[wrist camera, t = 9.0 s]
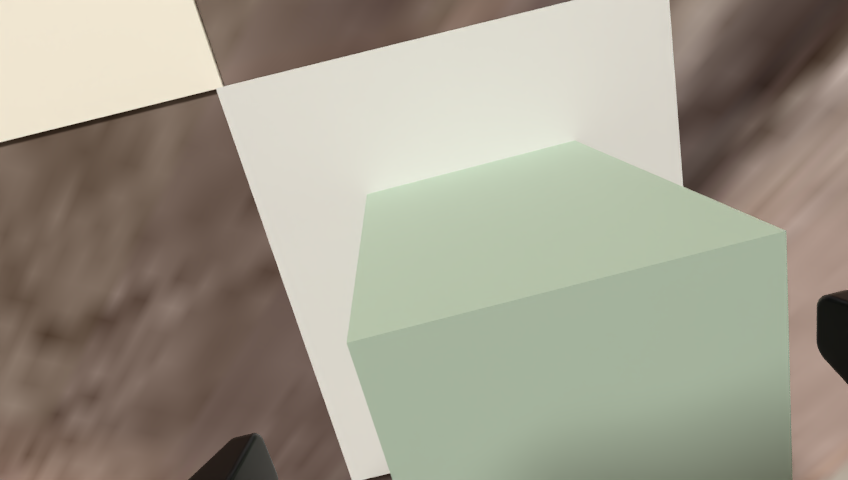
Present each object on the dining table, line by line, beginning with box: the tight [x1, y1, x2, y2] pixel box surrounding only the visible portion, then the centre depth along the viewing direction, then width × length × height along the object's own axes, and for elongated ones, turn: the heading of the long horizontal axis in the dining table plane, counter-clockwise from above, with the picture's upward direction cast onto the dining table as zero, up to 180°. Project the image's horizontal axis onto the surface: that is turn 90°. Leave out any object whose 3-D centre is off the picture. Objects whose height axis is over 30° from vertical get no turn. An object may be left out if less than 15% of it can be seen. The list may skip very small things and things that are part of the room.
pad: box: [216, 0, 683, 480], centre depth 14 cm, size 10×11×1 cm
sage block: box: [347, 140, 792, 480], centre depth 10 cm, size 5×5×7 cm
